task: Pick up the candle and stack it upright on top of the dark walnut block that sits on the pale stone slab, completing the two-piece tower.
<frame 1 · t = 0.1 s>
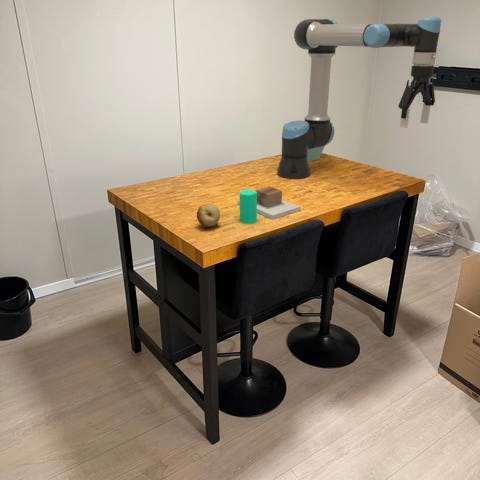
hand: (413, 125, 174), 28 cm above the table, fingers open, 13 cm apart
candle: (248, 220, 163), on the table
slab: (268, 207, 174), on the table
walnut block: (268, 203, 173), point 2 cm above the table, touching slab
planter: (307, 159, 238), on the table
fruit: (209, 227, 158), on the table
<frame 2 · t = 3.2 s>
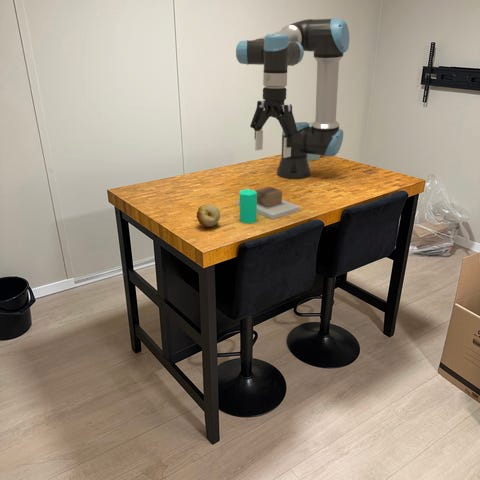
hand: (272, 153, 155), 23 cm above the table, fingers open, 13 cm apart
nothing on the table moved.
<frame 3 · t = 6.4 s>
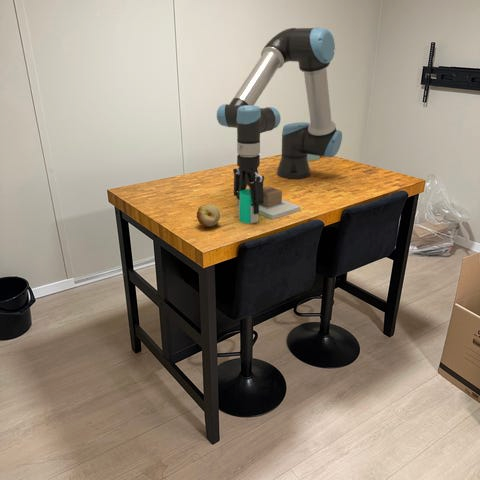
hand: (248, 219, 162), 0 cm above the table, fingers closed on candle, 6 cm apart
candle: (248, 220, 163), on the table, touching gripper
everything else where it was.
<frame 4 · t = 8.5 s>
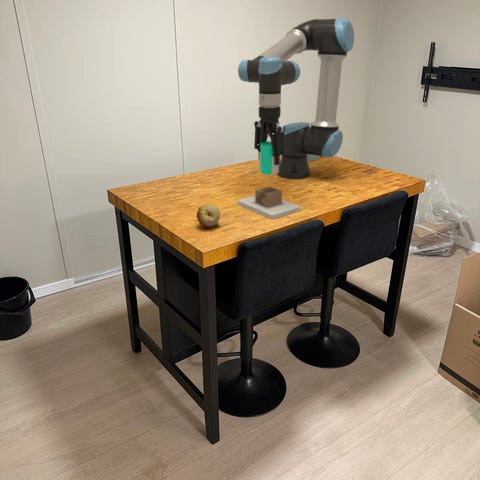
hand: (268, 171, 168), 14 cm above the table, fingers closed on candle, 6 cm apart
candle: (268, 172, 168), point 14 cm above the table, touching gripper
everything else where it was.
when the fingers open (8 cm above the table, at t = 10.6 s): candle stays where it is, resting on walnut block.
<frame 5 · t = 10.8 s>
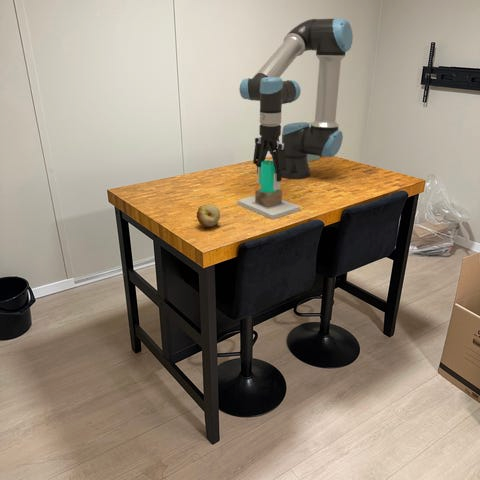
hand: (268, 186, 171), 8 cm above the table, fingers open, 8 cm apart
candle: (268, 190, 171), point 7 cm above the table, touching walnut block
walnut block: (268, 203, 173), point 2 cm above the table, touching candle, slab
everything else where it was.
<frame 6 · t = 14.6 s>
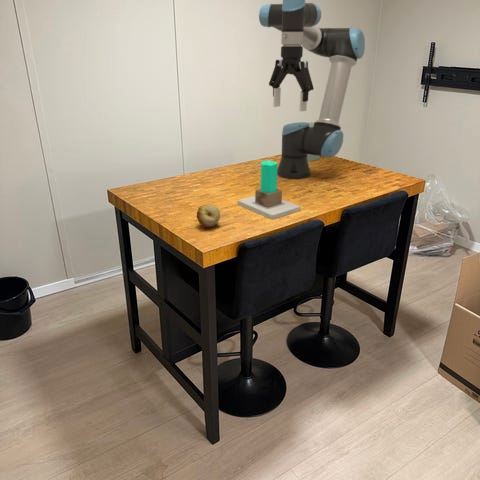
hand: (289, 108, 169), 35 cm above the table, fingers open, 13 cm apart
nothing on the table moved.
at the end: candle 0.1 cm off-centre on the walnut block, point 4.8 cm above the walnut block's base; candle tilted 0°; walnut block moved 0.0 cm from its start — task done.
